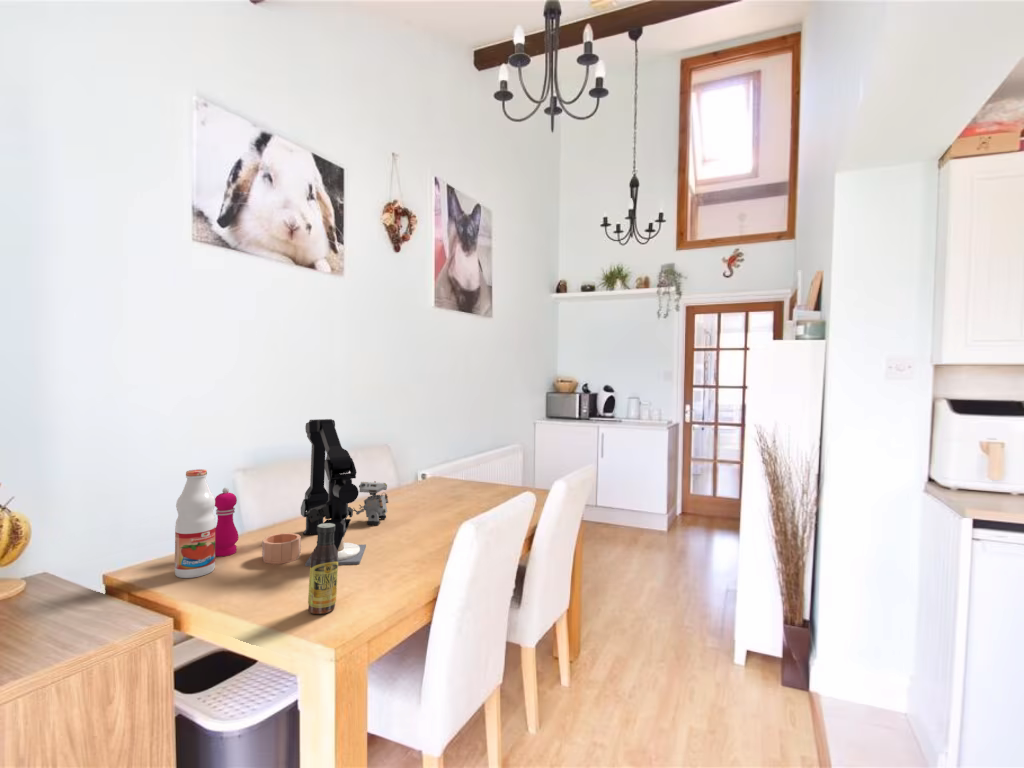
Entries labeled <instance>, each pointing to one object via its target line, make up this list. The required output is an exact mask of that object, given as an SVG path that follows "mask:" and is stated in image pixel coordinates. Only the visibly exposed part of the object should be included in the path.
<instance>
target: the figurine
mask: <svg viewBox="0 0 1024 768" xmlns="http://www.w3.org/2000/svg"><path fill="white" fill-rule="evenodd" d="M358 488H359V490H358V491H359V493H369V495H370V496H367V498H366V499H364V500H363V503H364V505H361V504H359V506H360V507H358V509H359V510H357V509H356V508H353V512H356V515H357V516H359V515H360V514H361V513H364V512H365V516H366V518H367V521H366V522H367V523H366V524H367V525H368V526H373V525H374V526H379V525H380V520H385V519H387V515H386V514H387V513H388V509H387V504H389V499H388V497H389V496H388V494H387V493H386V492H382V491H387V490H388V484H387V483H386V482H377V481H375V480H374V481H361V482H360V484H359V485H358ZM380 492H382V493H381V494H378V493H380ZM383 494H384V495H383ZM379 519H380V520H379Z"/></svg>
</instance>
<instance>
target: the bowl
mask: <svg viewBox="0 0 1024 768" xmlns="http://www.w3.org/2000/svg"><path fill="white" fill-rule="evenodd" d="M301 543H302V536H301V535H300V534H298V533H293V532H286V533H285V532H284V533H283V532H282V533H276V534H271V535H268V536H265V537H264V538H263V539H262V545H261V546H262V548H261V549H262V551H261V558H262V561H263V563H265V564H267V565H281V564H288V563H292V562H294V561H297V560H298V559H300V556H301V553H302V552H301V550H302V548H301V547H302V545H301Z"/></svg>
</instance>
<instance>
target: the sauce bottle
mask: <svg viewBox="0 0 1024 768" xmlns="http://www.w3.org/2000/svg"><path fill="white" fill-rule="evenodd" d="M317 532H318V534H317V539H316V540H317V541H316V546H315V547H314V549H313V551H312V553H311V554H312V555H311V554H310V556H311V565H310V566H309V579H308V580H309V582H308V594H307V595H308V599H307V605H308V612H309V613H310V614H313V615H325V614H328V613H330V612H332V611H334V610H335V607H336V602H337V597H338V596H337V595H338V594H337V592H338V591H337V590H338V576H339V575H338V574H339V573H338V571H339V565H338V550H337V548H336V546H335V545H334V532H335V524H332V523H324V522H323V524H319V525H318V526H317Z"/></svg>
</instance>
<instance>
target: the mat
mask: <svg viewBox="0 0 1024 768" xmlns="http://www.w3.org/2000/svg"><path fill="white" fill-rule="evenodd" d="M357 545H358V546H359V547H360V553H359V554H358V555H357V556H355V557H353V558H350V559H346V560H340V561H338V566H341V565H345V566H347V565H349V566H350V565H361V561H362V559H363V557H364V554H365V551H366V548H367V544H357ZM311 555H312V553H311V554H310V556H309V557H308V559H307V560H306V562H305V567H310V565H311Z"/></svg>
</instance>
